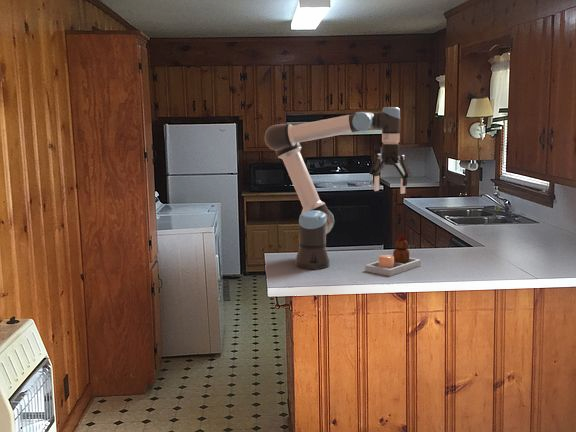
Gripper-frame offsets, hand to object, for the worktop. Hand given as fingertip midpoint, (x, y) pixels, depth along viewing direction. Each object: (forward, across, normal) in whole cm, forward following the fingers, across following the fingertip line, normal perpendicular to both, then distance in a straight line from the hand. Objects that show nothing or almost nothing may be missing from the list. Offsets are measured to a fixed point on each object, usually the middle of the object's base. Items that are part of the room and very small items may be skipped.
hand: (389, 192), depth 281 cm
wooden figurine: (+31, +9, -4) cm, 33 cm away
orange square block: (+31, +10, -16) cm, 36 cm away
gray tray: (+32, +10, -10) cm, 35 cm away
